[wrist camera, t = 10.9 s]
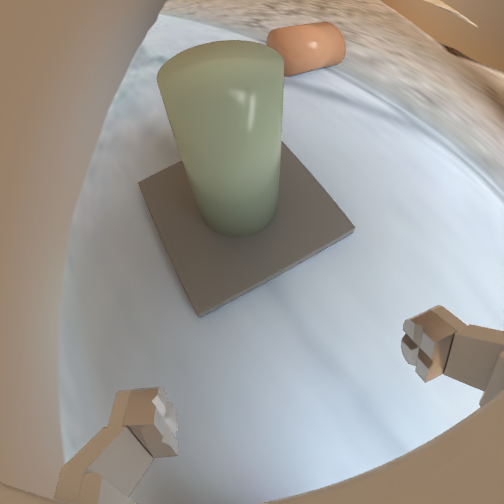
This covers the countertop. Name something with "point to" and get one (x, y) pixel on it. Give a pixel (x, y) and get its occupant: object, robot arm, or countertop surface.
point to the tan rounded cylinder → (308, 46)
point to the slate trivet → (245, 247)
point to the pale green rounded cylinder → (228, 130)
